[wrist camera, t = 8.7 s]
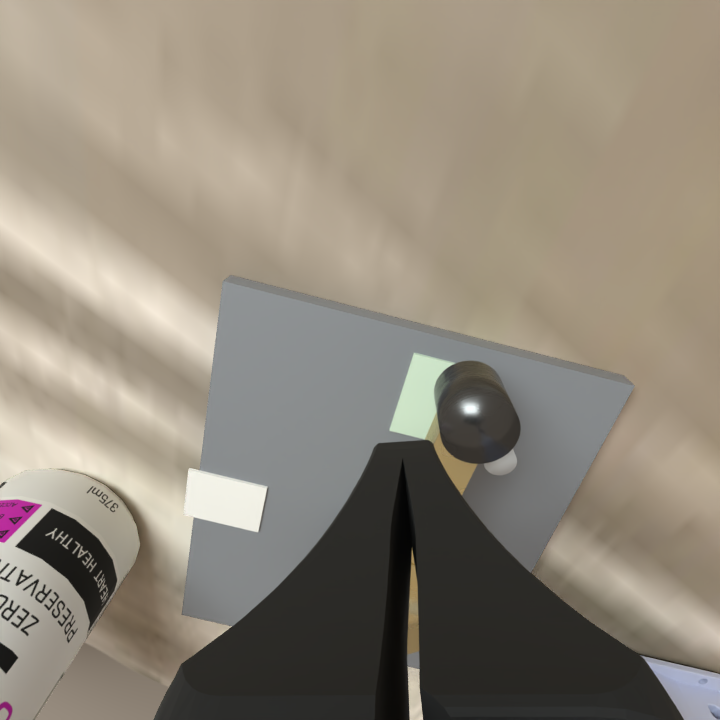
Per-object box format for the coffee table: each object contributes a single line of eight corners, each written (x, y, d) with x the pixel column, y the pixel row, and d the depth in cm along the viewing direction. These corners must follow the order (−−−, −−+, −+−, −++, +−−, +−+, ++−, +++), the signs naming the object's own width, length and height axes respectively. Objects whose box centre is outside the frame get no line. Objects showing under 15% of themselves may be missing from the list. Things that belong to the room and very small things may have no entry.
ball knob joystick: (421, 633, 24) (425, 691, 21) (307, 602, 23) (296, 657, 21) (556, 385, 18) (583, 424, 15) (404, 338, 17) (406, 370, 15)
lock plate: (624, 375, 21) (687, 437, 16) (468, 664, 30) (482, 757, 25) (219, 272, 20) (168, 307, 16) (180, 598, 29) (140, 681, 24)
